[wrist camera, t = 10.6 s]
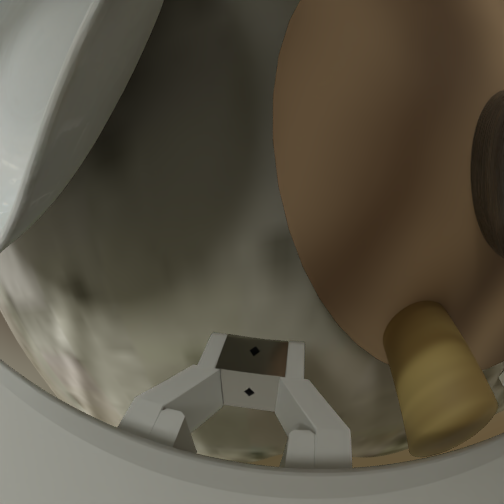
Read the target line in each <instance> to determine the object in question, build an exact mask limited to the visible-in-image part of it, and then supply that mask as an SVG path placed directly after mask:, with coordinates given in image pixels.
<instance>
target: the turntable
mask: <svg viewBox="0 0 504 504" xmlns="http://www.w3.org/2000/svg"><path fill="white" fill-rule="evenodd" d="M502 90H504V0H300V2H299V4H298V6H297V7H296V9H295V11H294V13H293V15H292V17H291V19H290V21H289V24H288V27H287V30H286V34H285V37H284V40H283V43H282V46H281V50H280V53H279V57H278V64H277V71H276V78H275V86H274V93H273V145H274V153H275V161H276V169H277V178H278V186H279V190H280V194H281V198H282V202H283V207H284V211H285V215H286V219H287V223H288V228H289V231H290V233H291V236H292V239H293V241H294V244H295V247H296V249H297V252H298V255H299V258H300V260H301V263H302V266H303V268H304V270H305V272H306V274H307V276H308V277H309V279H310V281H311V283H312V285H313V287H314V289H315V291H316V293H317V295H318V297H319V299H320V300H321V301H322V303H323V304H324V306H325V307H326V308H327V310H328V311H329V313H330V314H331V315H332V317H333V318H334V320H335V321H336V323H337V324H338V325H339V326H340V327H341V328H342V329H343V330H344V331H345V332H346V333H347V334H348V335H349V336H350V337H351V338H352V339H353V341H354V342H355V343H356V344H358V345H359V346H360V347H362V348H363V349H364V350H366V351H367V352H368V353H370V354H371V355H372V356H374V357H375V358H376V359H378V360H380V361H382V362H384V363H386V364H388V365H389V366H390V369H391V373H392V377H393V380H394V384H395V388H396V392H397V396H398V400H399V404H400V408H401V413H402V417H403V422H404V426H405V431H406V436H407V441H408V447H409V452H410V454H411V455H412V456H415V457H427V456H432V455H436V454H439V453H442V452H445V451H447V450H450V449H452V448H454V447H456V446H458V445H460V444H461V443H463V442H465V441H466V440H468V439H470V438H471V437H472V436H474V435H475V434H476V433H478V432H479V431H480V430H481V429H482V428H484V427H485V426H486V425H487V424H488V422H489V421H490V420H491V419H492V418H493V416H494V415H495V413H496V411H497V409H498V403H497V400H496V398H495V396H494V394H493V392H492V390H491V388H490V386H489V384H488V382H487V380H486V378H485V376H484V374H483V372H482V370H484V369H487V368H490V367H492V366H494V365H496V364H499V363H501V362H503V361H504V259H503V258H502V257H500V256H499V255H498V254H497V253H496V252H495V251H493V250H492V249H491V247H490V246H489V245H488V243H487V242H486V240H485V238H484V237H483V235H482V232H481V230H480V228H479V225H478V222H477V218H476V215H475V210H474V206H473V199H472V192H471V178H470V164H471V150H472V143H473V137H474V133H475V128H476V125H477V122H478V119H479V116H480V114H481V112H482V110H483V108H484V106H485V105H486V103H487V102H488V100H489V99H490V98H491V97H492V96H493V95H494V94H496V93H497V92H499V91H502Z"/></svg>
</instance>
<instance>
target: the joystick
mask: <svg viewBox="0 0 504 504" xmlns="http://www.w3.org/2000/svg"><path fill="white" fill-rule="evenodd" d="M499 379H500V381H501V383H502V385H503V386H504V371H503V372H502V374H501V375H500V376H499Z"/></svg>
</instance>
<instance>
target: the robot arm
mask: <svg viewBox="0 0 504 504" xmlns="http://www.w3.org/2000/svg"><path fill="white" fill-rule="evenodd" d="M304 366H305V343H304V342H299V341H289V342H288V341H281V340H270V339H260V338H252V337H245V336H238V335H232V334H223V333H217V332H213V333H212V334H211V336H210V338H209V340H208V343H207V345H206V347H205V349H204V351H203V354H202V356H201V358H200V360H199V363H198V365H191V366H190V367H188V368H186V369H185V370H183V371H181V372H179V373H178V374H176V375H174V376H172V377H171V378H169V379H167V380H165V381H164V382H162V383H160V384H158V385H156V386H155V387H153V388H151V389H149V390H147V391H145V392H144V393H142V394H140V395H138V396H136V397H135V398H134V400H133V402H132V403H131V405H130V407H129V408H128V410H127V412H126V414H125V415H124V417H123V419H122V420H121V422H120V424H119V426H118V427H114V426H112V425H110V424H107V423H105V422H103V421H101V420H99V419H96V418H94V417H92V416H90V415H88V414H86V413H84V412H82V411H80V410H78V409H76V408H74V407H73V406H71V405H69V404H67V403H65V402H63V401H62V400H60V399H58V398H57V397H55V396H53V395H51V394H50V393H48V392H46V391H45V390H43V389H41V388H40V387H38V386H37V385H35V384H34V383H32V382H31V381H29V380H28V379H27V378H25V377H24V376H22V375H21V374H19V373H18V372H17V371H15V370H14V369H13V368H11V367H10V366H9V365H7V364H6V363H5V362H4V361H2V360H1V359H0V504H504V433H502V434H499V435H497V436H494V437H492V438H489V439H487V440H484V441H482V442H479V443H476V444H473V445H470V446H467V447H464V448H461V449H457V450H454V451H451V452H447V453H443V454H439V455H435V456H432V457H427V458H422V459H418V460H413V461H407V462H401V463H394V464H387V465H379V466H370V467H358V468H352V449H351V431H350V429H349V428H348V426H347V425H346V424H345V423H344V422H343V420H342V419H341V418H340V417H339V416H338V414H337V413H336V412H335V411H334V410H333V408H332V407H331V406H330V405H329V404H328V402H327V401H326V400H325V399H324V397H323V396H322V395H321V394H320V393H319V391H318V390H317V389H316V388H315V386H314V385H313V384H312V383H311V381H310V380H309V379H304ZM223 405H229V406H236V407H244V408H252V409H258V410H266V411H273V412H275V414H276V416H277V418H278V420H279V422H280V423H281V425H282V427H283V429H284V431H285V433H286V435H287V436H288V440H287V443H286V446H285V450H284V453H283V457H282V460H281V463H280V467H273V466H263V465H255V464H248V463H241V462H235V461H229V460H224V459H219V458H214V457H209V456H204V455H200V454H196V453H197V450H196V448H195V445H194V442H193V439H192V436H191V433H192V432H193V431H194V430H196V429H197V428H198V427H199V426H200V425H202V424H203V423H204V422H205V421H206V420H208V419H209V418H210V417H211V416H212V415H213V414H215V413H216V412H217V411H218V410H219V409H220V408H222V407H223Z"/></svg>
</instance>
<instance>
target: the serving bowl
mask: <svg viewBox="0 0 504 504" xmlns="http://www.w3.org/2000/svg"><path fill="white" fill-rule="evenodd" d="M163 2H164V0H0V253H1V252H2V251H3V250H4V249H5V248H6V247H8V246H9V245H10V244H11V243H12V242H14V241H15V240H16V239H17V238H19V237H20V236H21V235H22V234H23V233H24V232H25V231H26V230H27V229H29V228H30V227H31V226H32V225H33V224H34V223H35V222H36V221H37V220H38V219H39V218H40V217H41V216H42V215H43V214H44V212H45V211H46V210H47V209H48V208H49V207H50V206H51V204H52V203H53V202H54V201H55V200H56V199H57V197H58V196H59V195H60V193H61V192H62V191H63V189H64V188H65V187H66V186H67V184H68V183H69V181H70V180H71V179H72V177H73V176H74V174H75V173H76V172H77V170H78V169H79V167H80V166H81V164H82V163H83V161H84V159H85V158H86V156H87V155H88V153H89V151H90V150H91V148H92V147H93V145H94V144H95V142H96V140H97V138H98V137H99V135H100V133H101V132H102V130H103V128H104V126H105V124H106V123H107V121H108V119H109V117H110V115H111V114H112V112H113V110H114V108H115V106H116V104H117V102H118V101H119V99H120V97H121V95H122V93H123V91H124V89H125V87H126V85H127V83H128V81H129V79H130V77H131V75H132V73H133V72H134V69H135V67H136V65H137V63H138V61H139V59H140V56H141V54H142V52H143V50H144V48H145V46H146V43H147V41H148V39H149V36H150V34H151V32H152V30H153V27H154V25H155V22H156V20H157V17H158V15H159V13H160V10H161V7H162V4H163Z"/></svg>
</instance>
